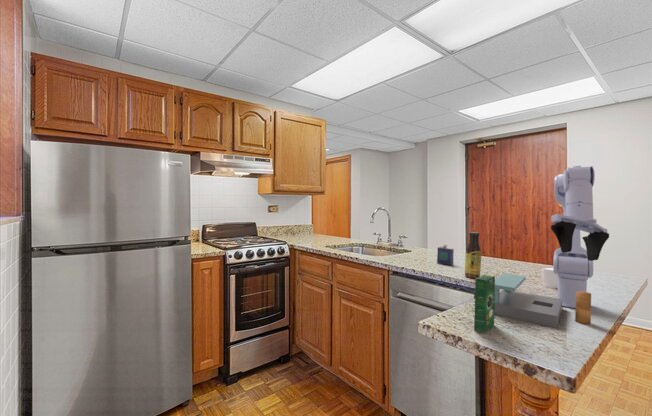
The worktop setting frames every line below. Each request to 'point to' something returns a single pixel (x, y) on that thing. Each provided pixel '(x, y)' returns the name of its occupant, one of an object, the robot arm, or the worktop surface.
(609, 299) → the worktop surface
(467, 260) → the sauce bottle
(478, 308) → the coffee box
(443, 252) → the flask
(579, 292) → the peg
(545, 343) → the worktop surface
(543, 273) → the white cube
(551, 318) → the socket stand
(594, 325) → the worktop surface
